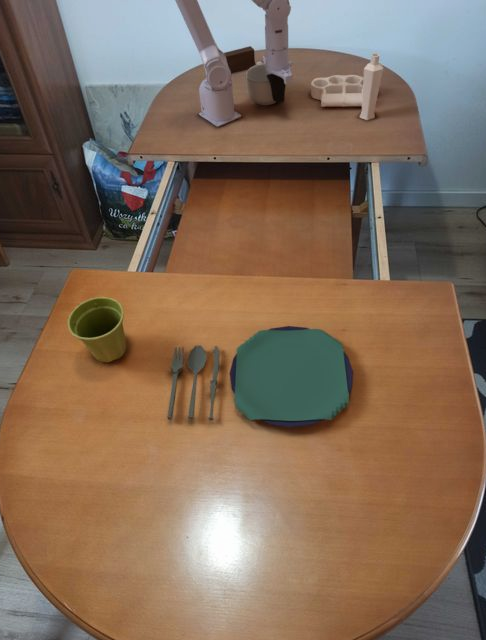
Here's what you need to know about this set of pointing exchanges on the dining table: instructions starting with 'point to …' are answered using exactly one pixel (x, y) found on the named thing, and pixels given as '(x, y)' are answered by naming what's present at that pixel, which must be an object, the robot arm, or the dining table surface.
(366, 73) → the perfume bottle
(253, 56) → the block
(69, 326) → the plant pot
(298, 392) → the cutlery set
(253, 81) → the teacup
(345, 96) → the white multi-hole holder
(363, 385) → the dining table surface
